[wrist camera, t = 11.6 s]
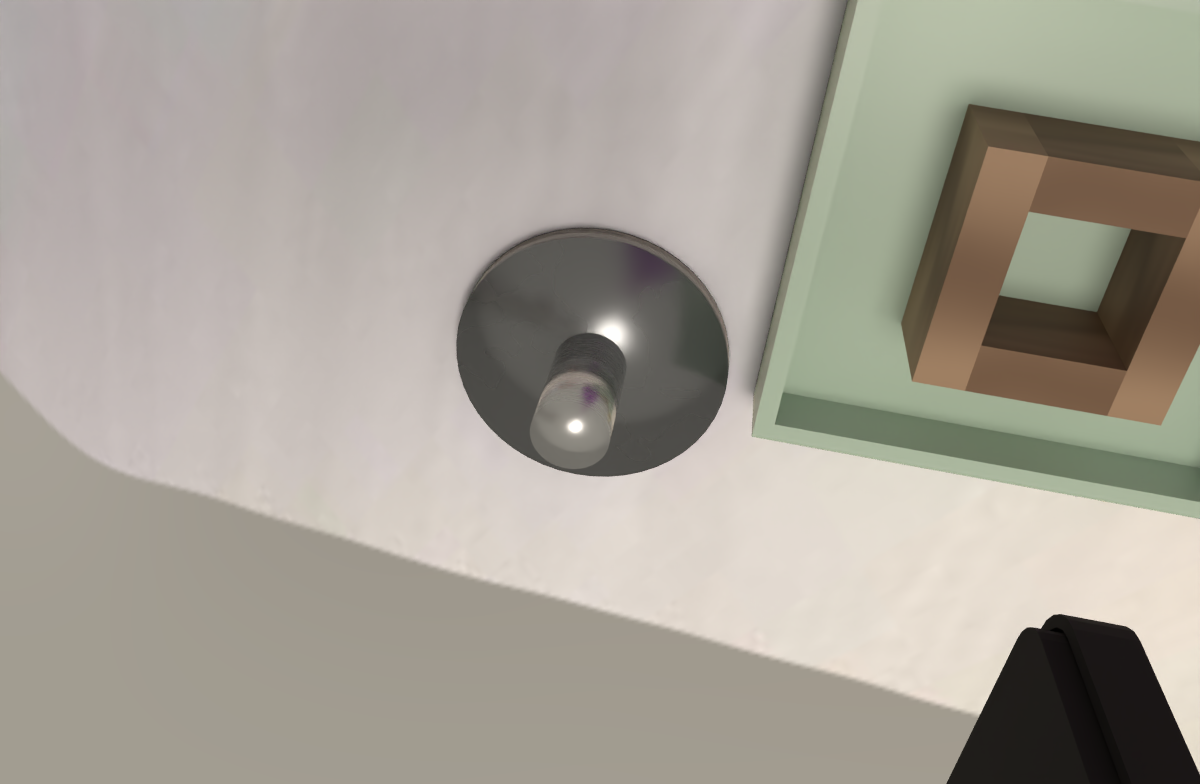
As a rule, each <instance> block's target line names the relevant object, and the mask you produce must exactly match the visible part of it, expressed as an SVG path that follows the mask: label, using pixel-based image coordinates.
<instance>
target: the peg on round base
mask: <svg viewBox="0 0 1200 784" xmlns="http://www.w3.org/2000/svg"><path fill="white" fill-rule="evenodd" d="M457 361H458V367H459V372H460V376H461V379H462V382H463V386H464V388H465V390H466V392H467V395H468V397H469V399H470V401H471V403H472V404H473V406H474V407H475V409H476V411H477V412H478V414H479V415H480V416H481V418H482V419H483V420H484V421H485V423H486V424H487V425H488V426H489V427H490V428H491V429H492V430H493V431H494V432H495V433H496V434H497V435H498V436H499V437H500V438H501V439H502V440H504V441H505V442H506V443H507V444H509V445H510V446H511V447H512V448H514V449H515V450H517V451H519V452H520V453H522V454H524V455H525V456H527V457H529V458H531V459H533V460H535V461H537V462H539V463H541V464H543V465H546V466H549V467H552V468H555V469H557V470H561V471H565V472H569V473H573V474H580V475H587V476H620V475H628V474H633V473H638V472H642V471H645V470H648V469H651V468H655V467H657V466H659V465H661V464H664V463H666V462H668V461H670V460H672V459H673V458H675V457H677V456H678V455H680V454H681V453H683V452H684V451H686V450H687V449H688V448H689V447H690V446H692V445H693V444H694V443H695V442H696V441H697V440H698V439H699V438H700V437H701V436H702V435H703V434H704V432H705V431H706V430H707V429H708V427H709V426H710V424H711V423H712V421H713V420H714V418H715V416H716V414H717V412H718V410H719V408H720V406H721V404H722V400H723V397H724V394H725V390H726V384H727V377H728V367H729V345H728V338H727V332H726V328H725V325H724V322H723V319H722V316H721V313H720V311H719V309H718V307H717V305H716V303H715V301H714V299H713V298H712V296H711V295H710V293H709V292H708V290H707V289H706V287H705V286H704V284H703V283H702V282H701V281H700V280H699V279H698V278H697V276H696V275H695V274H694V273H693V272H692V271H691V270H690V269H689V268H688V267H686V266H685V265H684V264H683V263H682V262H681V261H680V260H678V259H677V258H675V257H674V256H672V255H671V254H669V253H668V252H667V251H665V250H663V249H662V248H660V247H658V246H656V245H654V244H652V243H650V242H648V241H645V240H643V239H640V238H637V237H635V236H632V235H629V234H625V233H621V232H616V231H612V230H604V229H596V228H573V229H566V230H558V231H554V232H550V233H546V234H542V235H539V236H536V237H534V238H532V239H529V240H527V241H524V242H522V243H521V244H519V245H517V246H516V247H514V248H512V249H510V250H509V251H507V252H506V253H505V254H504V255H502V256H501V257H500V258H499V259H497V260H496V261H495V262H494V263H493V264H492V265H491V266H490V267H489V269H488V270H487V271H486V272H485V273H484V274H483V276H482V277H481V279H480V280H479V282H478V283H477V285H476V286H475V288H474V290H473V292H472V294H471V296H470V298H469V300H468V302H467V304H466V306H465V308H464V310H463V313H462V316H461V320H460V323H459V327H458V334H457Z"/></svg>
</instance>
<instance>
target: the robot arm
mask: <svg viewBox="0 0 1200 784" xmlns="http://www.w3.org/2000/svg"><path fill="white" fill-rule="evenodd" d="M947 784H1200V774H1199V772H1198V770H1197V767H1196V765H1195V763H1194V761H1193V758H1192V756H1191V754H1190V752H1189V749H1188V747H1187V745H1186V743H1185V740H1184V738H1183V736H1182V734H1181V731H1180V729H1179V727H1178V725H1177V722H1176V720H1175V718H1174V716H1173V713H1172V711H1171V709H1170V707H1169V705H1168V702H1167V700H1166V698H1165V696H1164V693H1163V691H1162V689H1161V687H1160V684H1159V682H1158V680H1157V678H1156V675H1155V673H1154V671H1153V669H1152V666H1151V664H1150V662H1149V660H1148V657H1147V655H1146V653H1145V651H1144V648H1143V646H1142V644H1141V642H1140V640H1139V638H1138V637H1137V635H1136V634H1135V632H1134V631H1133V630H1131V629H1129V628H1128V627H1126V626H1121V625H1115V624H1110V623H1105V622H1099V621H1094V620H1089V619H1083V618H1078V617H1073V616H1067V615H1062V614H1058V615H1053V616H1051V617H1050V618H1049V619H1048V620H1046V622H1045V623H1044V625H1043V626H1042V628H1041V629H1038V628H1033V627H1030V628H1026V629H1025V630H1023V631H1022V632H1021V634H1020V636H1019V637H1018V639H1017V641H1016V643H1015V645H1014V647H1013V649H1012V651H1011V653H1010V655H1009V657H1008V659H1007V661H1006V663H1005V665H1004V667H1003V669H1002V671H1001V673H1000V675H999V677H998V679H997V681H996V683H995V686H994V688H993V690H992V692H991V694H990V696H989V698H988V700H987V702H986V704H985V706H984V708H983V710H982V712H981V714H980V716H979V718H978V720H977V722H976V724H975V726H974V728H973V731H972V732H971V735H970V737H969V739H968V741H967V743H966V745H965V747H964V749H963V751H962V753H961V755H960V757H959V759H958V761H957V763H956V765H955V767H954V769H953V771H952V774H951V776H950V777H949V780H948V781H947Z"/></svg>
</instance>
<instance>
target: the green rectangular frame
mask: <svg viewBox="0 0 1200 784" xmlns="http://www.w3.org/2000/svg"><path fill="white" fill-rule="evenodd" d="M969 104H972V105H978V106H985V107H991V108H997V109H1003V110H1009V111H1015V112H1021V113H1027V114H1033V115H1040V116H1046V117H1052V118H1058V119H1064V120H1070V121H1076V122H1082V123H1088V124H1095V125H1101V126H1107V127H1113V128H1119V129H1125V130H1131V131H1137V132H1144V133H1150V134H1156V135H1162V136H1168V137H1174V138H1180V139H1186V140H1192V141H1199V142H1200V0H848V2H847V6H846V10H845V14H844V18H843V22H842V27H841V31H840V35H839V39H838V43H837V48H836V52H835V56H834V60H833V64H832V69H831V73H830V77H829V81H828V85H827V90H826V94H825V98H824V102H823V106H822V110H821V115H820V119H819V123H818V127H817V131H816V136H815V140H814V144H813V148H812V152H811V157H810V161H809V165H808V169H807V173H806V177H805V182H804V186H803V190H802V194H801V198H800V203H799V207H798V211H797V215H796V219H795V224H794V228H793V232H792V236H791V240H790V245H789V249H788V253H787V257H786V261H785V265H784V270H783V274H782V278H781V282H780V286H779V291H778V295H777V299H776V303H775V307H774V312H773V316H772V320H771V324H770V328H769V333H768V337H767V341H766V345H765V349H764V353H763V358H762V362H761V366H760V370H759V374H758V379H757V383H756V387H755V391H754V397H753V420H752V437H757V438H762V439H768V440H773V441H779V442H784V443H790V444H795V445H800V446H806V447H811V448H817V449H822V450H828V451H833V452H839V453H844V454H850V455H855V456H860V457H866V458H871V459H877V460H882V461H888V462H893V463H899V464H904V465H909V466H915V467H920V468H926V469H931V470H937V471H942V472H948V473H953V474H958V475H964V476H969V477H975V478H980V479H986V480H991V481H997V482H1002V483H1007V484H1013V485H1018V486H1024V487H1029V488H1035V489H1040V490H1046V491H1051V492H1057V493H1062V494H1067V495H1073V496H1078V497H1084V498H1089V499H1095V500H1100V501H1106V502H1111V503H1116V504H1122V505H1127V506H1133V507H1138V508H1144V509H1149V510H1155V511H1160V512H1165V513H1171V514H1176V515H1182V516H1187V517H1193V518H1198V519H1200V345H1199V347H1198V349H1197V352H1196V354H1195V356H1194V358H1193V360H1192V362H1191V364H1190V366H1189V368H1188V370H1187V372H1186V374H1185V377H1184V379H1183V381H1182V383H1181V385H1180V387H1179V389H1178V391H1177V393H1176V395H1175V397H1174V399H1173V402H1172V404H1171V406H1170V408H1169V410H1168V412H1167V414H1166V416H1165V418H1164V420H1163V422H1162V424H1161V426H1160V425H1155V424H1149V423H1143V422H1138V421H1132V420H1126V419H1121V418H1115V417H1109V416H1104V415H1098V414H1092V413H1087V412H1081V411H1076V410H1070V409H1064V408H1059V407H1053V406H1047V405H1042V404H1036V403H1030V402H1025V401H1019V400H1013V399H1008V398H1002V397H997V396H991V395H985V394H980V393H974V392H968V391H963V390H957V389H951V388H946V387H940V386H934V385H929V384H923V383H918V382H912V379H911V374H910V368H909V363H908V358H907V353H906V347H905V342H904V337H903V331H902V326H901V322H902V319H903V316H904V312H905V309H906V306H907V303H908V299H909V296H910V293H911V290H912V286H913V283H914V280H915V277H916V273H917V270H918V267H919V264H920V260H921V257H922V254H923V251H924V247H925V244H926V241H927V238H928V234H929V231H930V228H931V225H932V221H933V218H934V215H935V212H936V208H937V205H938V202H939V199H940V195H941V192H942V189H943V186H944V182H945V179H946V176H947V173H948V169H949V166H950V163H951V160H952V157H953V153H954V150H955V147H956V144H957V140H958V137H959V134H960V131H961V127H962V124H963V121H964V118H965V114H966V111H967V108H968V105H969ZM1130 231H1131V229H1128V228H1122V227H1116V226H1110V225H1104V224H1098V223H1092V222H1086V221H1080V220H1074V219H1068V218H1062V217H1057V216H1051V215H1045V214H1039V213H1033V212H1029V213H1028V215H1027V218H1026V221H1025V224H1024V227H1023V229H1022V232H1021V235H1020V238H1019V241H1018V243H1017V246H1016V249H1015V252H1014V255H1013V257H1012V260H1011V263H1010V266H1009V269H1008V271H1007V274H1006V277H1005V280H1004V283H1003V285H1002V288H1001V291H1000V294H999V295H1001V296H1006V297H1012V298H1018V299H1024V300H1030V301H1035V302H1041V303H1047V304H1053V305H1059V306H1064V307H1070V308H1076V309H1082V310H1088V311H1093V312H1097V311H1098V308H1099V306H1100V303H1101V301H1102V299H1103V296H1104V294H1105V291H1106V289H1107V287H1108V284H1109V282H1110V279H1111V277H1112V274H1113V272H1114V270H1115V267H1116V265H1117V262H1118V260H1119V258H1120V255H1121V253H1122V250H1123V248H1124V246H1125V243H1126V241H1127V238H1128V236H1129V233H1130Z"/></svg>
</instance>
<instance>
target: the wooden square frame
mask: <svg viewBox="0 0 1200 784" xmlns="http://www.w3.org/2000/svg"><path fill="white" fill-rule="evenodd" d="M1029 212H1033V213H1039V214H1045V215H1051V216H1057V217H1062V218H1068V219H1074V220H1080V221H1086V222H1092V223H1098V224H1104V225H1110V226H1116V227H1122V228H1128V229H1131V231H1130V233H1129V236H1128V238H1127V241H1126V243H1125V246H1124V248H1123V250H1122V253H1121V255H1120V258H1119V260H1118V262H1117V265H1116V267H1115V270H1114V272H1113V274H1112V277H1111V279H1110V282H1109V284H1108V287H1107V289H1106V291H1105V294H1104V296H1103V299H1102V301H1101V303H1100V306H1099V308H1098V311H1097V312H1093V311H1088V310H1082V309H1076V308H1070V307H1064V306H1059V305H1053V304H1047V303H1041V302H1035V301H1030V300H1024V299H1018V298H1012V297H1006V296H1001V295H999V294H1000V291H1001V288H1002V285H1003V283H1004V280H1005V277H1006V274H1007V271H1008V269H1009V266H1010V263H1011V260H1012V257H1013V255H1014V252H1015V249H1016V246H1017V243H1018V241H1019V238H1020V235H1021V232H1022V229H1023V227H1024V224H1025V221H1026V218H1027V215H1028V213H1029ZM901 326H902V331H903V337H904V342H905V347H906V353H907V358H908V363H909V368H910V374H911V379H912V382H918V383H923V384H929V385H934V386H940V387H946V388H951V389H957V390H963V391H968V392H974V393H980V394H985V395H991V396H997V397H1002V398H1008V399H1013V400H1019V401H1025V402H1030V403H1036V404H1042V405H1047V406H1053V407H1059V408H1064V409H1070V410H1076V411H1081V412H1087V413H1092V414H1098V415H1104V416H1109V417H1115V418H1121V419H1126V420H1132V421H1138V422H1143V423H1149V424H1155V425H1160V426H1161V424H1162V422H1163V420H1164V418H1165V416H1166V414H1167V412H1168V410H1169V408H1170V406H1171V404H1172V402H1173V399H1174V397H1175V395H1176V393H1177V391H1178V389H1179V387H1180V385H1181V383H1182V381H1183V379H1184V377H1185V374H1186V372H1187V370H1188V368H1189V366H1190V364H1191V362H1192V360H1193V358H1194V356H1195V354H1196V352H1197V349H1198V347H1199V345H1200V142H1199V141H1192V140H1186V139H1180V138H1174V137H1168V136H1162V135H1156V134H1150V133H1144V132H1137V131H1131V130H1125V129H1119V128H1113V127H1107V126H1101V125H1095V124H1088V123H1082V122H1076V121H1070V120H1064V119H1058V118H1052V117H1046V116H1040V115H1033V114H1027V113H1021V112H1015V111H1009V110H1003V109H997V108H991V107H985V106H978V105H972V104H969V105H968V108H967V111H966V114H965V118H964V121H963V124H962V127H961V131H960V134H959V137H958V140H957V144H956V147H955V150H954V153H953V157H952V160H951V163H950V166H949V169H948V173H947V176H946V179H945V182H944V186H943V189H942V192H941V195H940V199H939V202H938V205H937V208H936V212H935V215H934V218H933V221H932V225H931V228H930V231H929V234H928V238H927V241H926V244H925V247H924V251H923V254H922V257H921V260H920V264H919V267H918V270H917V273H916V277H915V280H914V283H913V286H912V290H911V293H910V296H909V299H908V303H907V306H906V309H905V312H904V316H903V319H902V322H901Z"/></svg>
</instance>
